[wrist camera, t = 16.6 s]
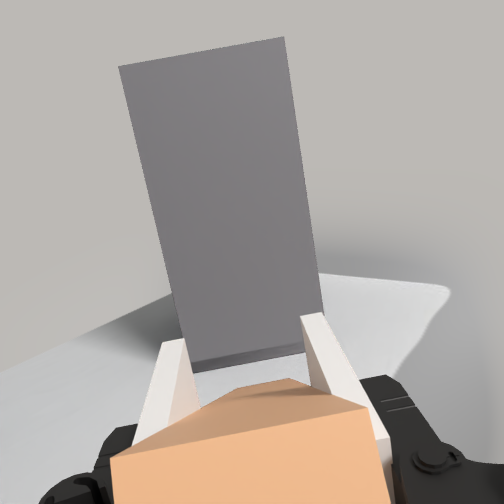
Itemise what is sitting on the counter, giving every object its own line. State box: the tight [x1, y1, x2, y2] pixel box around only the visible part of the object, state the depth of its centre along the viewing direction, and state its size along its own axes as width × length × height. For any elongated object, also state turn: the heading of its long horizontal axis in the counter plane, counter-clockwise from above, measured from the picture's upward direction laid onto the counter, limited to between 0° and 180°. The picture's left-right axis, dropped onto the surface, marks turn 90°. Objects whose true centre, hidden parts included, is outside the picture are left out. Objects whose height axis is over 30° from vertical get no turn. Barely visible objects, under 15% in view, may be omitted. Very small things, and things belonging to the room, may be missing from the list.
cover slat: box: [110, 378, 391, 504], centre depth 20 cm, size 28×4×3 cm
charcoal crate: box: [118, 37, 324, 373], centre depth 50 cm, size 14×18×29 cm
